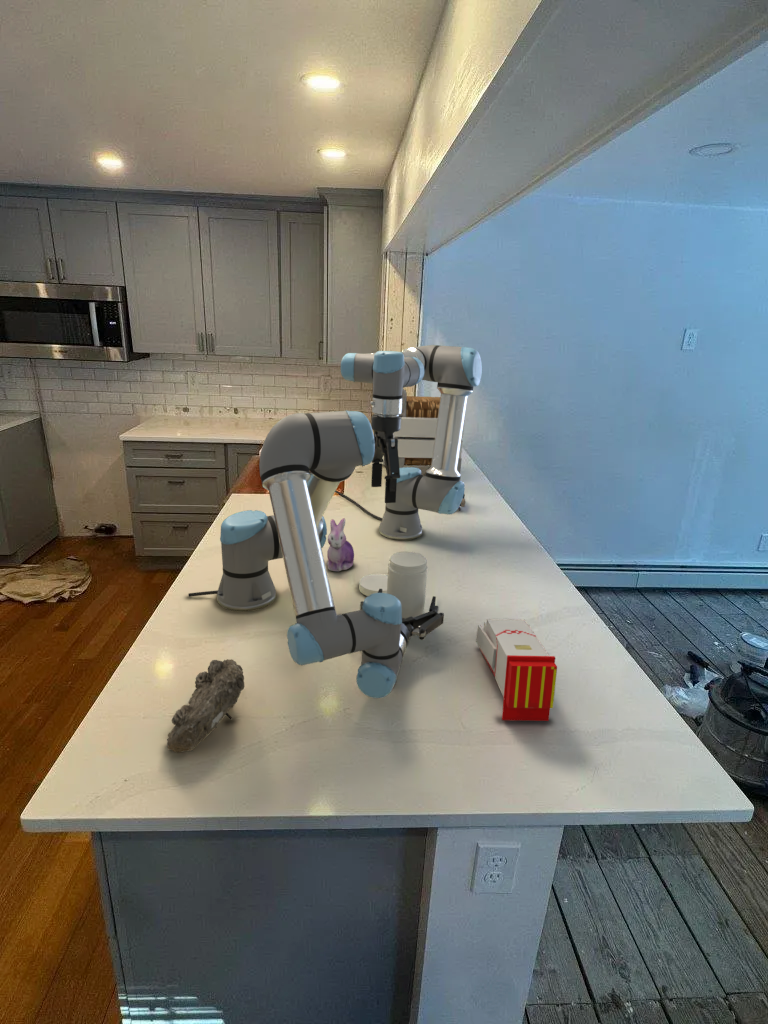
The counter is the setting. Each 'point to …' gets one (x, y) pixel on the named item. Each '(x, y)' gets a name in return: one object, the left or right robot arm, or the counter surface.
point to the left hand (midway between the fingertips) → (407, 597)
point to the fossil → (206, 705)
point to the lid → (373, 584)
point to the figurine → (339, 548)
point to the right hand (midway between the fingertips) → (382, 494)
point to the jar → (408, 581)
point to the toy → (519, 668)
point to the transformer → (419, 431)
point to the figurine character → (462, 502)
